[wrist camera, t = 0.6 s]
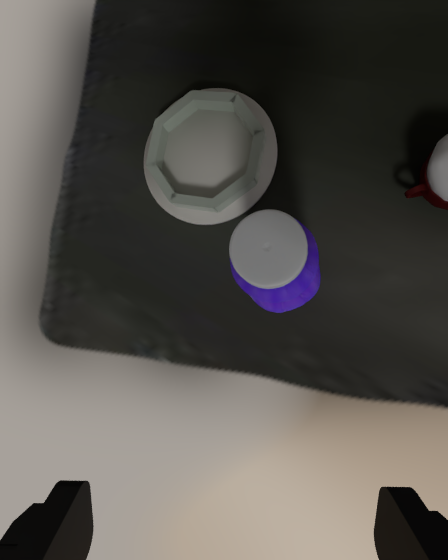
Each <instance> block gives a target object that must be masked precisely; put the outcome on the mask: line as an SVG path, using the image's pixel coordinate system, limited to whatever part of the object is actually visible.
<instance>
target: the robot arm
mask: <svg viewBox="0 0 448 560" xmlns="http://www.w3.org/2000/svg"><path fill="white" fill-rule="evenodd" d="M92 536H93V515H92V504H91V492H90V484H89V482H88V481H59V482H57V483H56V485H55V486H54V488H53V489H52V491H51V492H50V494H49V496H48V497H47V499H46V500H45V502H44V503H33V504H32V505H31V506H30V507H29V508H28V509H27V510H26V511H25V512H23V513H22V514H21V515H20V516H19V517H18V518H17V519H16V520H14V521H13V523H12V524H11V525H10V527H9V529H8V530H7V531H6V533H5V534H4V536H3V537H2V539H1V540H0V560H86V558H87V555H88V553H89V550H90V546H91V542H92ZM374 541H375V547H376V551H377V555H378V558H379V560H448V520H447V519H446V518H445V517H443V515H441V514H440V513H439V512H438V511H429V510H428V509H427V507H426V506H425V504H424V503H423V502H422V500H421V499H420V497H419V496H418V494H417V493H416V491H415V490H414V489H412V488H410V487H381V489H380V491H379V497H378V505H377V512H376V519H375V526H374Z"/></svg>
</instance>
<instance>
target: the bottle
mask: <svg viewBox="0 0 448 560" xmlns="http://www.w3.org/2000/svg"><path fill="white" fill-rule="evenodd" d="M229 253H230V265H231V270H232V274H233V277H234V279H235V280H236V282H237V284H238V285H239V286H240V287H241V288H242V289H243V290H244V291H245V292H246V293H247V294H249V295H250V296H251V297H252V299H253V300H254V301H255V302H256V303H257V304H258V305H259V306H260V307H262V308H263V309H265V310H267V311H271V312H277V313H282V312H285V311H290V310H292V309H295V308H297V307H300V306H302V305H303V304H304V303H306V302H307V301H309V300H310V299H311V298H312V297H313V296H314V295H315V294H316V292H317V290H318V288H319V285H320V269H319V264H318V263H319V255H318V248H317V244H316V241H315V239H314V237H313V235H312V234H311V232H310V231H309V230H308V229H307V228H306V227H305V226H304V225H303V224H302V223H301V222H299V221H298V220H296V219H295V218H293V217H292V216H290V215H289V214H287V213H284V212H282V211H279V210H272V209H266V210H260V211H257V212H254V213H252V214H250V215H248V216H247V217H245V218H244V219H243V220H242V221H241V222H240V223H239V224H238V225H237V227H236V228H235V230H234V232H233V233H232V236H231V240H230V246H229Z"/></svg>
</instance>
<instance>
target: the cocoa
mask: <svg viewBox="0 0 448 560" xmlns="http://www.w3.org/2000/svg"><path fill="white" fill-rule="evenodd" d="M405 196H406V198H413V197H418V196H423V197H424V198H425V199H426V200H427V201H428V202H429V203H431V204H432V205H433V206H435V207H438V208H442V209H446V210H448V134H447V135H446V136H444V137H443V138H442V139H441V140H439V141H438V142H437V144H436V146H435V148H434V149H433V150H432V151H431V153H430V154H429V156H428V157H427V159H426V161H425V162H424V164H423V165H422V167H421V170H420V178H419V185H418V186H416V187H413V188H411V189H409V190H408V191H406V192H405Z"/></svg>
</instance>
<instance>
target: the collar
mask: <svg viewBox="0 0 448 560" xmlns="http://www.w3.org/2000/svg"><path fill="white" fill-rule="evenodd" d="M155 120H156V121H154V125H153V128H152V130H151V132H150V135H149V137H148V140H147V143H146V147H145V153H144V172H145V177H146V182H147V184H148V187H149V190H150V192H151V193H152V195H153V197H154V198H155V200H156V201H157V202H158V204H159V205H160V206H161V207H162V208H163V209H164V210H166V211H167V212H168V213H170V214H171V215H172V216H174V217H176V218H178V219H180V220H182V221H185V222H187V223H191V224H196V225H215V224H221V223H224V222H227V221H230V220H233V219H235V218H237V217H239V216H240V215H242V214H244V213H245V212H247V211H248V210H249V209H250V208H252V207H253V206H254V205H255V204H256V203H257V202H258V201H259V200H260V198H261V197H262V196H263V194H264V193H265V192H266V190H267V188H268V186H269V185H270V183H271V180H272V178H273V175H274V172H275V168H276V163H277V141H276V135H275V131H274V128H273V125H272V123H271V121H270V119H269V117H268V116H267V114H266V112H265V111H264V110H263V109H262V108H261V107H260V105H259V104H257V103H256V102H255V101H254V100H253V99H251V98H250V97H248V96H246V95H244V94H242V93H240V92H238V91H234V90H230V89H224V88H210V89H203V90H199V91H198V90H192V92H191V91H190V92H188V93H187V94H186V95H185V96H184V97H182V98H181V99H179V100H178V101H176V102H175V103H173V104H172V105H171V106H170V107H169V108H168V109H167V110H165V112H164V113H163V114H162V115H160V116H159V117H158V118H157V119H155Z"/></svg>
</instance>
